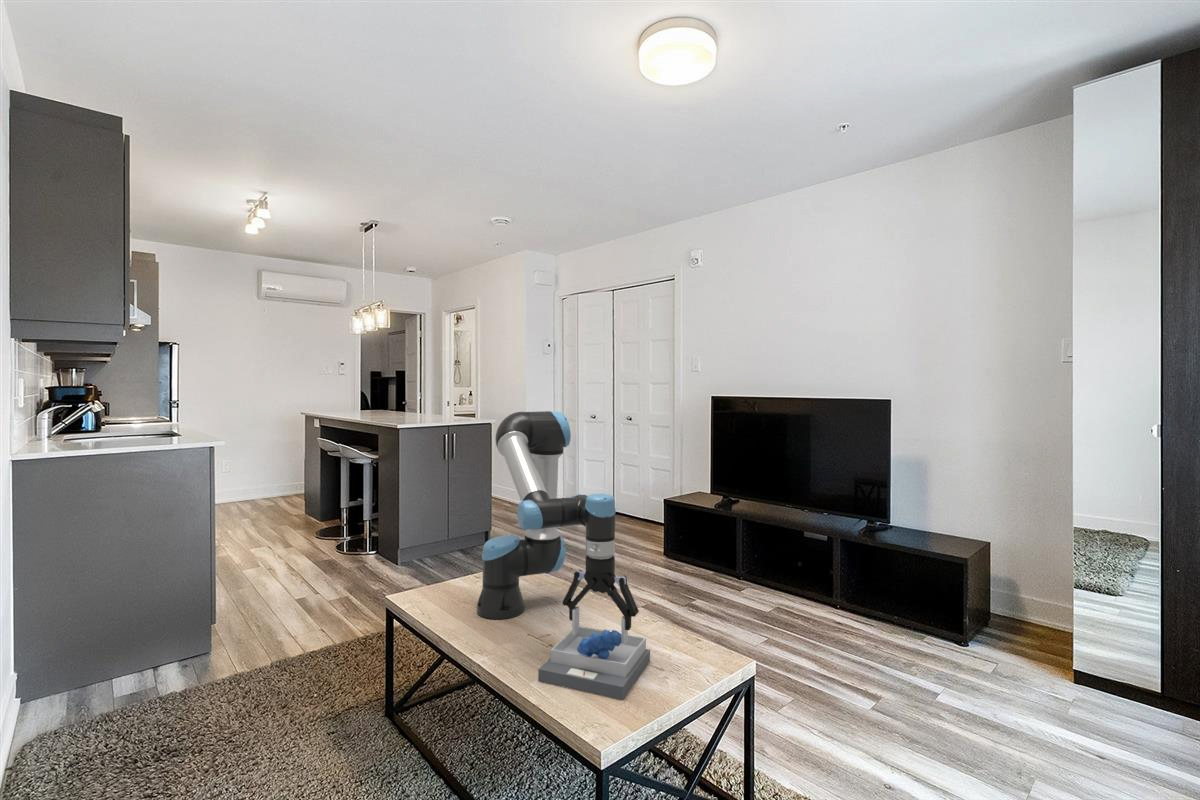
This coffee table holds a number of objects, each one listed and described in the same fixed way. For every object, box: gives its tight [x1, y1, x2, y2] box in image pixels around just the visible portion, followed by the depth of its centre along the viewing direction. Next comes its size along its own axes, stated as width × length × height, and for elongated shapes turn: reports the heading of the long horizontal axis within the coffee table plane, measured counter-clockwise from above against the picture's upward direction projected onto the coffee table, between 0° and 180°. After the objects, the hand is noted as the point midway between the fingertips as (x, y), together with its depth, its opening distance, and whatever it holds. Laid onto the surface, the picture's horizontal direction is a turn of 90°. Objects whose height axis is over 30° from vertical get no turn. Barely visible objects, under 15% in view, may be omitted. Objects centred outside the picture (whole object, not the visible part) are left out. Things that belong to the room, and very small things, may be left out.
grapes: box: [577, 629, 621, 660], centre depth 142 cm, size 12×7×12 cm
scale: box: [537, 625, 651, 701], centre depth 146 cm, size 22×21×6 cm
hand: (599, 637), depth 148 cm, fingers open, 13 cm apart
